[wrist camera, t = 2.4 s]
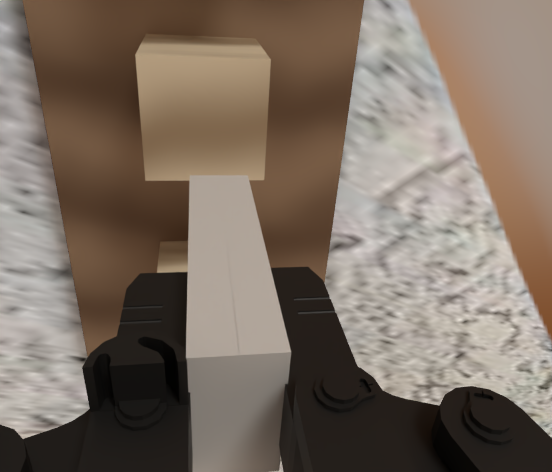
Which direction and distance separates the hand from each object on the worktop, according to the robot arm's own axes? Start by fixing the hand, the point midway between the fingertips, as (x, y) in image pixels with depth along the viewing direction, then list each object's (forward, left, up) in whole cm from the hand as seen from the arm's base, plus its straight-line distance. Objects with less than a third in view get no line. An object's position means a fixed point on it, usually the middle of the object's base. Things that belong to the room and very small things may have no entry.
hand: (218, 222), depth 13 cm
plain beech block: (0, 0, -13) cm, 13 cm away
